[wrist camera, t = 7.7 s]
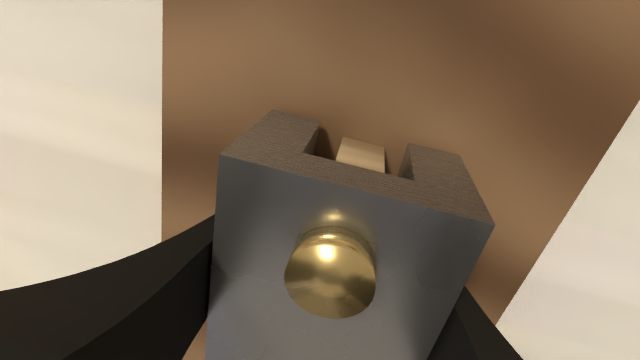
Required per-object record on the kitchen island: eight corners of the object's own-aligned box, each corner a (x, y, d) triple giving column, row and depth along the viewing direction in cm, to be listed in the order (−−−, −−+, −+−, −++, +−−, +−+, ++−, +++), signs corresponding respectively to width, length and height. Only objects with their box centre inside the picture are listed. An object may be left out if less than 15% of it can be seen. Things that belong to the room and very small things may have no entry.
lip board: (423, 413, 18) (434, 525, 14) (171, 339, 19) (115, 426, 15) (736, -103, 8) (1051, -204, 4) (185, -221, 9) (31, -401, 5)
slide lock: (387, 331, 14) (387, 466, 10) (247, 292, 15) (190, 405, 11) (459, 154, 11) (507, 248, 7) (272, 109, 11) (201, 168, 7)
